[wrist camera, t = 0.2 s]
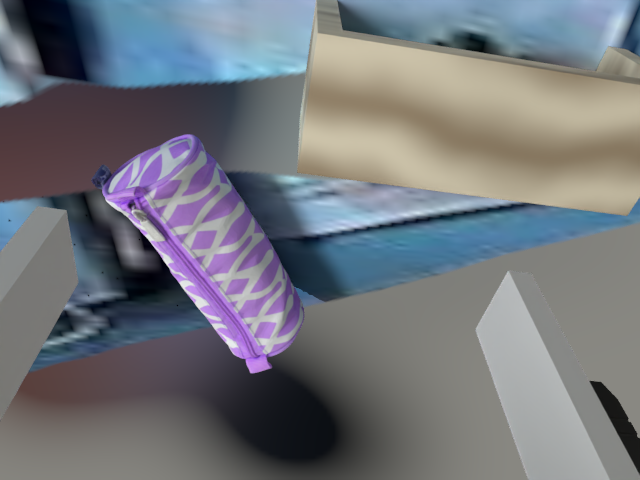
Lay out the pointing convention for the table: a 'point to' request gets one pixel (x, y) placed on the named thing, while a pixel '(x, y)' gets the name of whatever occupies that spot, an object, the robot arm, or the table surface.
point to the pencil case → (209, 245)
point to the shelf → (470, 120)
